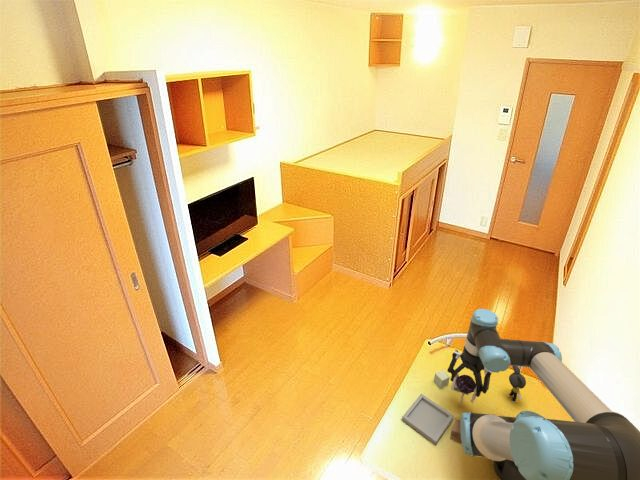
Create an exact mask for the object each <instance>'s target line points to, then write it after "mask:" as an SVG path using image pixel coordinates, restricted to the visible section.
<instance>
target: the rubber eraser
mask: <svg viewBox="0 0 640 480" xmlns="http://www.w3.org/2000/svg"><path fill="white" fill-rule="evenodd" d="M453 391H456V392H459V393H461V394H462V393H463V392H461V391H460V390H459V389H458V387H457V385H456V387H455V388H454V390H453ZM464 395H469V394H465V393H464Z"/></svg>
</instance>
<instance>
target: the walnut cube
mask: <svg viewBox="0 0 640 480" xmlns="http://www.w3.org/2000/svg"><path fill="white" fill-rule="evenodd" d="M453 420H454V421H453V424H452V428H451V433H450V437H449V439H450V440H452V441H454V442H456V443H458V444H461V445H462V441H461V431H460V420H461V419H458V418H455V417H454V419H453Z"/></svg>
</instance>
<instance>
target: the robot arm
mask: <svg viewBox="0 0 640 480" xmlns="http://www.w3.org/2000/svg"><path fill="white" fill-rule="evenodd" d="M498 322H499V317H498V316H497V314H496V313H495V312H494V311H492V310H489V309H487V308H486V309H485V308H478V309H476V310H474V311H473V314H472V315H471V318H470V324H469V326H468V330H467V335H466V338H465V342H464V346H463V350H462V353H460V352H459V350H457V349H455V350H454V351H453V352H452V359H451V361H450V364H449V366H448V367H447V373H450V374H451V376H450V381H451V382H452V383H451V388H450V390H451V391H455V390H454V388H455V387H456V379H457V378H458V377H459V376H460V374H459V373H460V372H461V371H462V370H464V369H465V368H466V369H467V370H468V369H469V370H470V371H471V372H472V373H473V374H472V375H473V376H474V381H475V383H476V388H475V389H474V392H472V396H471V399H470V402H471V403H472V404H473V403H474V402H475V400H476V398H479V397H480V396H481V393H483V394H486V393H487V392H488V391H489V389H490V388H489V387H490V382H491V375H492V374H493V373H500V372H506V371H507V370H508V369H509V368H510V367H512V366H517V367H526V368H529V369H530V370H531V371H532V372H533V373H534V374H535V375H536V377H537V378H538V379H539V380H540V381H541V383H542V384H543V385H544V386H545V388H546V389H547V390H548V391H549V392H550V394H552V396H553V398H555V399H556V400H557V402H558V403H559V404H560V406H561V407H562V408H563V409H564V411H566V413H567V414H568V416H570V418H571V419H572V420H573V421H571V420H570V421H569V420H564V419H563V420H561V419H553V418H546V417H544V416H543V415H541V414H539V413H537V412H535V411H532V410H523V411H520V412H519V413H518V414H516V416H515V417H514V416H504V415H495V414H489V413H487V414H486V413H480V412H479V413H478V412H472V411H469V412H467V411H465V412H462V413H461V414H460V419H459V420H460V431H461V441H462V444H461V447H462V449H463V450H462V451H463V452H464V453H465V454H466V455H467V456H472V457H482V458H486V459H488V460H491V461H492V466H493V469H494V472H495V473H496V476H497V478H498V479H499V480H640V430H639V429H638V428H637V427H636V426H635V425H634V423H632V422H631V421H630V420H629V419H628V418H627V417H626V416H625V415H623V414H621V413H619V412H616V411H613V410H612V409H611V408H609V407H608V405H607V404H605V403H604V401H602V400H601V399H600V398H599V397H598V396H597V395H596V394H595V393H594V392H593V391H592V390H591V389H590V388H589V387H588V386H587V385H586V384H585V383H584V382H583V381H582V380H581V379H580V378H579V377H578V376H577V375H575V373H574V372H572V370H571V369H569V367H568V366H566V364H564V362H563V361H562V360H563V358H562V353H561V351H560V348H559V347H558V346H557V345H556V344H554V343H550V342H546V341H535V340H534V341H532V340H520V339H511V338H510V339H507V338H501V337H500V334H499V332H498V330H497V326H498ZM459 358H460V359H461V364H460V365H459V366H457V367H456V368H455V366H456V363H457V362H458V361H457V360H458V359H459ZM481 371H483V373H484V378H482V372H481Z"/></svg>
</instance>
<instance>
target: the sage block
mask: <svg viewBox="0 0 640 480" xmlns="http://www.w3.org/2000/svg"><path fill="white" fill-rule="evenodd" d="M450 380H451V376H450V375H449V374H448V372H446V371H445V370H444V369H441V370H440V371H436V372H434V377H433V383H434V384H435V385H436V386H437V387H438V388H439V390H442V389H444V388H445V387H446V388H447V387H448V386H449V382H450Z"/></svg>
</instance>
